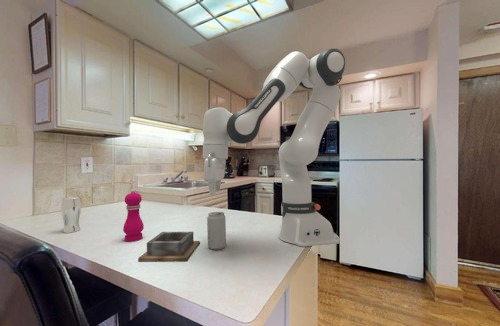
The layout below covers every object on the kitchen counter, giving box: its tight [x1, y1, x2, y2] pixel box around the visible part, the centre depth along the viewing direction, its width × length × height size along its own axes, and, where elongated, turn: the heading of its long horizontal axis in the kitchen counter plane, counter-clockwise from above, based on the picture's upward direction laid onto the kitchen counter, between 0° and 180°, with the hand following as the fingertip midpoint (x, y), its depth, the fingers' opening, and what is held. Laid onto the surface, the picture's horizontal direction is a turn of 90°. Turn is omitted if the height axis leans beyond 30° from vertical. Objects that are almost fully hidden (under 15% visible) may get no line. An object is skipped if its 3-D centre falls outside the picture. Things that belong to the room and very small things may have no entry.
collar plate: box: [137, 231, 201, 263], centre depth 74 cm, size 15×15×5 cm
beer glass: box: [60, 196, 82, 234], centre depth 100 cm, size 7×7×15 cm
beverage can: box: [206, 211, 227, 251], centre depth 78 cm, size 6×6×12 cm
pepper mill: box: [122, 188, 145, 243], centre depth 88 cm, size 7×7×20 cm
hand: (215, 192), depth 78 cm, fingers open, 8 cm apart
